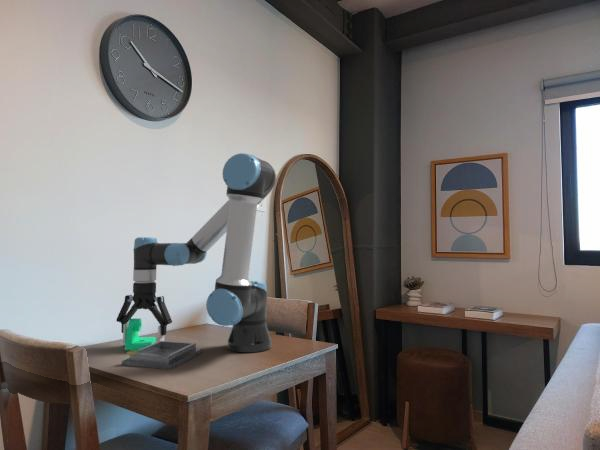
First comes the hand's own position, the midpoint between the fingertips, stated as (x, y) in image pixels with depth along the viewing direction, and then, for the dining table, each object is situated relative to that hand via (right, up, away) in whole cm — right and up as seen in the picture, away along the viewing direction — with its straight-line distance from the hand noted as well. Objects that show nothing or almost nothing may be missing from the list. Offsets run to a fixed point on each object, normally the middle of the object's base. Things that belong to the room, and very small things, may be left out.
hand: (143, 343), depth 148 cm
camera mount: (-1, -2, 0) cm, 2 cm away
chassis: (+11, -1, -13) cm, 17 cm away
